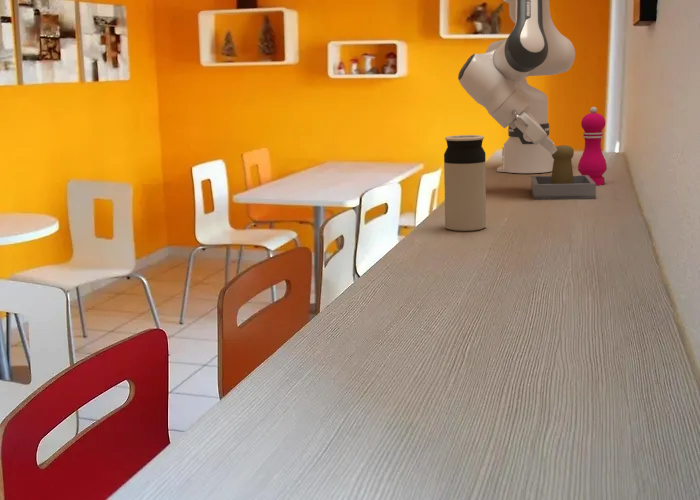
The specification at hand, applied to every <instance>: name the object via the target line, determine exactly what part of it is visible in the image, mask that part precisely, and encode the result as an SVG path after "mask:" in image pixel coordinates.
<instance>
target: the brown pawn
mask: <svg viewBox="0 0 700 500" xmlns="http://www.w3.org/2000/svg"><path fill="white" fill-rule="evenodd" d="M555 147H556V148H557V151H556V152H555V153H554V154H552V157H553V159H554V162H553V169H552V171H551V175H550V176H551V183H550V184H574V179H573V175H574V172H573V164H572V163H573V162H572V159H573V157H574V153H575V151H574V148H573V147H572V146H571V145H564V144H561V145H556V146H555Z"/></svg>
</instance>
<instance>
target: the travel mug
mask: <svg viewBox="0 0 700 500" xmlns="http://www.w3.org/2000/svg"><path fill="white" fill-rule="evenodd" d="M484 139H485V136H484V135H478V134H461V135H459V134H458V135H449V136H445V138H444V140H445V141H446V144H447V145H446V146H447V147H446V149H445V151H444V154H443V164H444V165H443V168H444V169H443V170H444V171H443V172H444V173H443V175H444V178H443V179H444V180H443V181H444V183H443V184H444V227H445V228H446V229H448V230H449V231H454V232H475V231H481V230H483V229H484V228H486V226H487V223H486V222H487V221H486V218H487V217H486V216H487V215H486V208H487V207H486V206H487V205H486V202H487V201H486V199H487V198H486V195H487V193H486V186H487V183H486V175H487V174H486V173H487V171H486V170H487V169H486V165H487V163H486V152H485V149H484V148H483V141H484Z"/></svg>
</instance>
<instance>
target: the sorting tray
mask: <svg viewBox="0 0 700 500" xmlns="http://www.w3.org/2000/svg"><path fill="white" fill-rule="evenodd" d="M551 176H552V175H533V176H532V175H531V176H530V184H531V185H530V190H531V191H530V192H531V194H532V197H533V200H536V201H537V200H596V197H597V196H596V195H597V186H596V183H595V182H594V181H593V180H592V179H591V178H590V177H589V176H588V175H581V174H580V175H576V174H575V175H574V174H573V179H574V184H550V183H551Z"/></svg>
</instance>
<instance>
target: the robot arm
mask: <svg viewBox="0 0 700 500" xmlns="http://www.w3.org/2000/svg"><path fill="white" fill-rule="evenodd" d="M502 1H503V2H505V3H506V4H508V15H509V17H510V20H511V21H512V22H513V24H514V27H513V29H512V31H511V32H510V34H509V35H508V37H506V38H505V39H500V40H496V41H493V42H490V43H489V45H488V47H487V48H486V50H485V53H473V54H471V56H469V57H468V59H467V60H466V62H465V63H464V64H463V65H462V66H461V68H460V70H459V71H458V74H457V76H458V77H457V79H458V82H459V84H460V85H461V87H462V88H463V90H465V91H466V93H467V94H468V96H470V97H471V98H472V99H473V100H474V101H475V102H476V103H477V104H478V105H481V107H484V108H485V110H486V111H487V113H488V114H489V116H491V117H492V118H493V119H494V121H496V122H497V123H498V124H499V125H500V126H501V127H502V128H503V129H506V128H507V127H508V128H507V132H508V134H507V135H508V139H507V140H506V141H505V142H504V143H503V147H502V151H501V153H502V155H501V156H502V164H501V165H500V166H498V167H496V172H498V173H499V172H500V173H501V172H503V173H511V174H513V173H514V174H538V173H539V174H540V173H542V174H543V173H549V172H552V169H553V162H554V159H553V157H552V154H554V153H555V152H556V151H557V148H556V146H555V142H553V140H552V139H551V138H550V137H549V135H550V130H551V128H550V123H549V99H548V96H547V94H546V93H545V92H543V91H542V90H540V89H539V88H536V87H534V86H532V85H530V84H529V83H528V82H527V78H528V77H531V76H532V77H535V76H536V77H537V76H540V77H541V76H553V75H554V76H555V75H559V74H562V73H566V72H568V71H569V70H570V69H571V68H572V66H573V64H574V63H575V59H576V50H575V47H574V44H573V42H572V41H571V40H570V39H569V38H568V37H566V36H565V35H564V34H562V33H561V32H560V31H559V30H558V28H557V27H556V26H555V24H554V21H553V20H552V16H551V10H550V0H502Z"/></svg>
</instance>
